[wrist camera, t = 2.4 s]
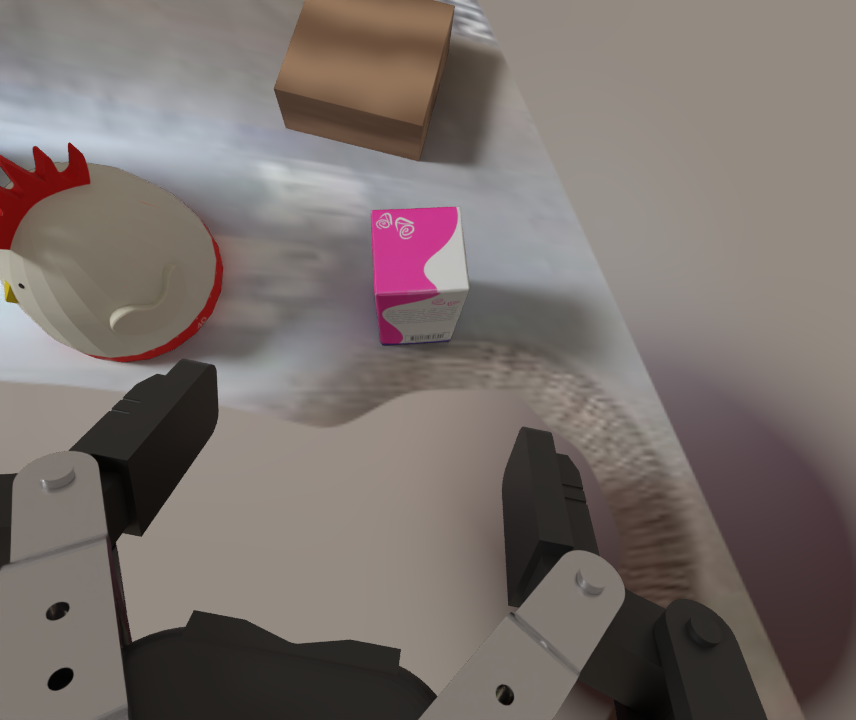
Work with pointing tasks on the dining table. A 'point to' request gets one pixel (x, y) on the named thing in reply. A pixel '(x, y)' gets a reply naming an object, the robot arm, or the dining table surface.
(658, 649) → the robot arm
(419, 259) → the supplement box
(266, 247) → the dining table surface
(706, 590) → the dining table surface
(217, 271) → the kitchen timer
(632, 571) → the dining table surface
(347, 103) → the walnut block
